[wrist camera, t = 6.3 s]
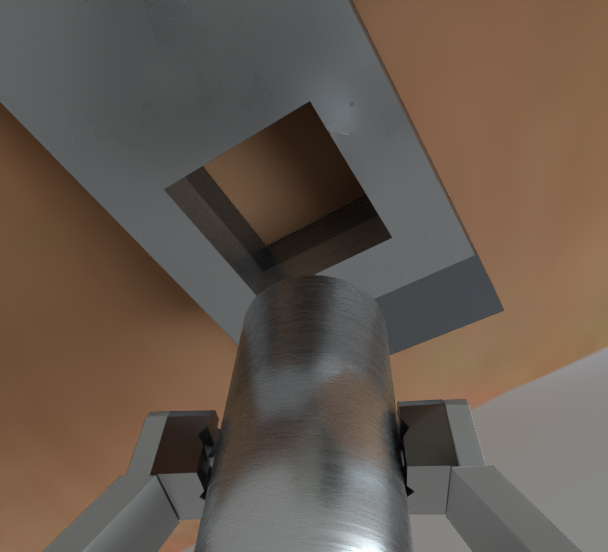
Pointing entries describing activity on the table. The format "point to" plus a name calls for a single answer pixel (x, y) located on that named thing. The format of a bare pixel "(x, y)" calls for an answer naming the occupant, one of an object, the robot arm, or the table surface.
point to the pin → (309, 429)
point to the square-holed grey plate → (232, 131)
